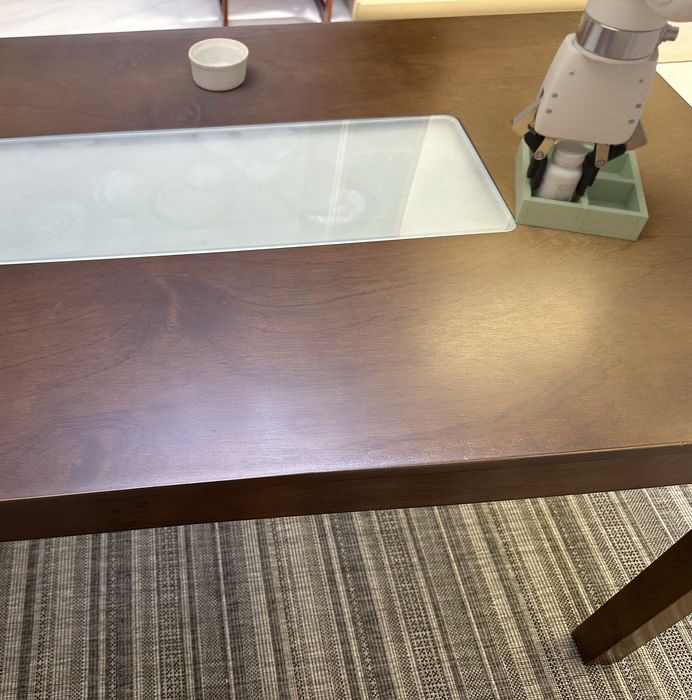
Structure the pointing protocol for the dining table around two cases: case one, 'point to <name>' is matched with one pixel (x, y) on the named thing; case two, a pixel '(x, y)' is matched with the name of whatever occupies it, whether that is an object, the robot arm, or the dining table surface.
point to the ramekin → (218, 63)
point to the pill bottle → (562, 172)
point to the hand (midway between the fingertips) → (556, 184)
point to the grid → (586, 200)
